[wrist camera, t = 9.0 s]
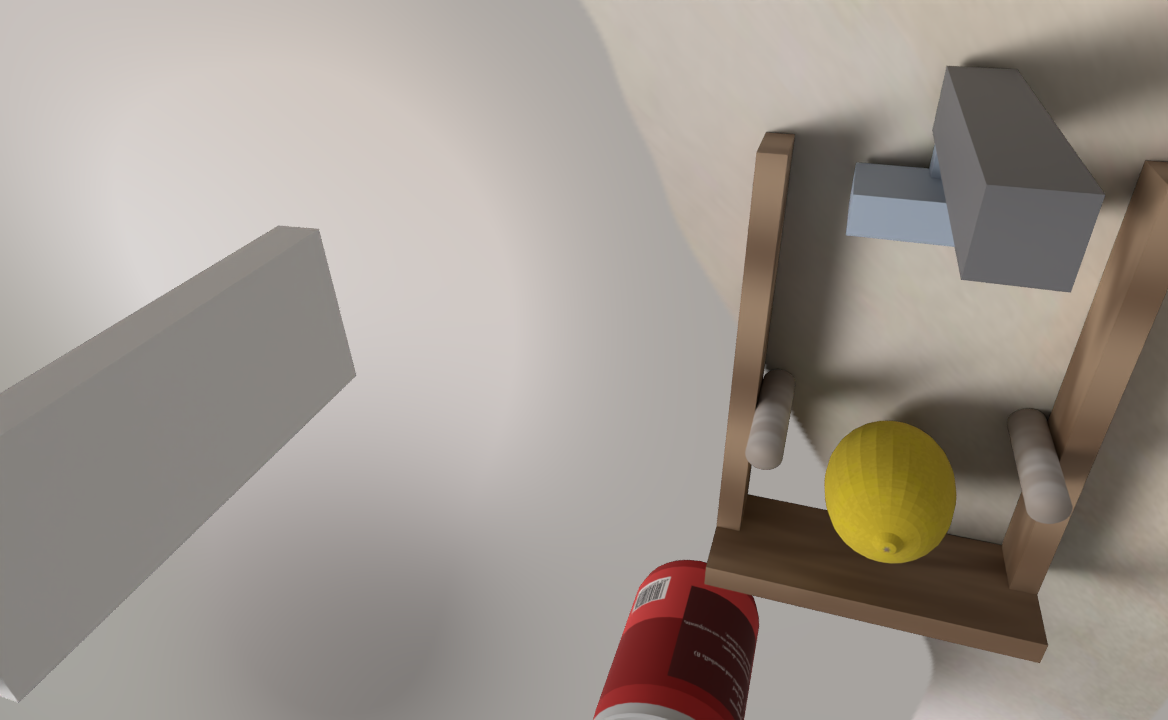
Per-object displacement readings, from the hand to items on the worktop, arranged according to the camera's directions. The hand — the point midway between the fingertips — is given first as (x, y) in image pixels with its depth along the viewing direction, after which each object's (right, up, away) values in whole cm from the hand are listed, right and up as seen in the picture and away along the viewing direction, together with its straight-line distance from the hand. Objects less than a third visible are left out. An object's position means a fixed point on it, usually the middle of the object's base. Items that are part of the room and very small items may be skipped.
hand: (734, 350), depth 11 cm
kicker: (+13, +8, +19) cm, 25 cm away
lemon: (+13, -4, +28) cm, 31 cm away
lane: (+13, -1, +25) cm, 29 cm away
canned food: (+5, -15, +38) cm, 41 cm away
